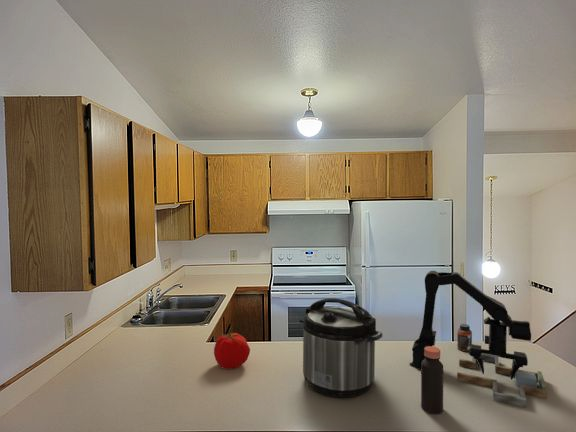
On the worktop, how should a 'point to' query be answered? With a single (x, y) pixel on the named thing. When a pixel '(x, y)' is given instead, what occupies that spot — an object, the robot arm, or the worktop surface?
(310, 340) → the pressure cooker
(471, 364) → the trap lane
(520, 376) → the block
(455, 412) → the worktop surface
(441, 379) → the vinegar
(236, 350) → the tomato
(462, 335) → the supplement bottle
